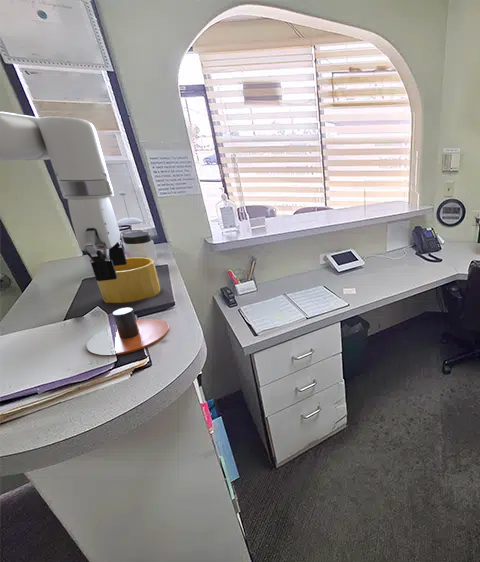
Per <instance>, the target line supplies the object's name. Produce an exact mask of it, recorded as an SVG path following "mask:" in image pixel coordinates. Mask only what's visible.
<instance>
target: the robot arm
mask: <svg viewBox="0 0 480 562" xmlns="http://www.w3.org/2000/svg"><path fill="white" fill-rule="evenodd" d="M46 160H49V161H50V163H51V166H52V169H53V172H54V175H55V178H56V181H57V184H58V186H59V190H60V192H61V195H62V198H63V199H66V200H67V205H68V211H69V215H70V219H71V223H72V228H73V230H74V234H75V235H74V236H75V237H76V241H77V245H78V248H79V249H80V250H81V251H83V252H87V256H88V259H89V262H90V264H91V268H92V271H93V274H94V277H95V280H96V282H97V281H105V280H114V279H116V278H117V274H116V271H115V268H114V266H118V265H126V264H127V261H126V258H125V254H126V253H125V250H124V247H122V246H123V245H122V243H121V242H122V241H121V232H120V226H119V227H118V225H119V224H118V223H117V222H118V219H117V216H116V214H115V211H114V208H113V204H112V202H111V199H110V198H112V197H115V193H114V190H113V189H114V188H113V186H112V183H111V179H110V176H109V172H108V168H107V165H106V161H105V158H104V154H103V151H102V148H101V143H100V139H99V136H98V133H97V130H96V128H95V125H94V124H93V123H92V122H90V121H89V120H86V119H83V118H80V117H79V118H77V117H67V116H52V115H51V116H43V117H38V116H32V115H26V114H17V113H14V112H7V111H6V112H5V111H0V161H46ZM99 245H101V246H99ZM101 251H103V252H104V254H103V253H102V252H101Z"/></svg>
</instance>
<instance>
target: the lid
mask: <svg viewBox="0 0 480 562" xmlns="http://www.w3.org/2000/svg"><path fill="white" fill-rule="evenodd" d="M111 314H112V317H113V320H114V323H115V324H114V325H116V327H117V332H116V337H115V351H116V354H117V355H116V356H120V355H125V354H130V353H135V352H137V351H140V350H143V349H145V348H147V347H150V346H152V345H154V344H156V343H157V342H159V341H160V340H162V339H164V338H165V336H166V335H168V332H169V330H170V327H169V324H168V322H166V321H165V320H162V319H158V318H139V319H136V315H135V312H134V309H133V307H121V308H118V309H116V310H114V311H112V313H111Z"/></svg>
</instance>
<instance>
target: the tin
mask: <svg viewBox="0 0 480 562" xmlns="http://www.w3.org/2000/svg"><path fill="white" fill-rule="evenodd" d="M126 261H127V264H126V265H118V266H114V268H115V271H116V274H117V278H116V279H114V280H105V281H97V280H96V282H97V286H98V289H99V292H100V296H101V298H102V300H103V302H104V303H106V304H123V303H132V302H137V301H141V300H145V299H149V298H154V297H156V296H158V295H159V294H160V292H161V284H160V280H159V276H158V272H157V267H156V266H155V264H154V260H152V259H151V258H145V257H132V258H126Z"/></svg>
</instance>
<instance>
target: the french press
mask: <svg viewBox="0 0 480 562" xmlns="http://www.w3.org/2000/svg"><path fill="white" fill-rule="evenodd" d="M126 195H127V194H126V192H124V191H120V192H119V196H122V198H123V202H124V206H125V210H126V214H127V217H123V218H120V219H119V220H117V223H118V227H119V230H121V229H122V226H123V225H124V226H125V225H128V226H130V229H129V230H128V229H126V230H123V231H122V232H120V235H124V234H127V233H132V232H144V230H143V229H133V226H132V225H138V224H141V223H143V220H142V219H140V218H138V217H131V216H129V212H128V207H127V204H126V200H125V197H124V196H126ZM120 239H121V241H120V242H121V245H122V246H123V251H124V254H125V258H127V256H126V252H125V248H124V245H123V242H124V241H123V237H122V236H120Z"/></svg>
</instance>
